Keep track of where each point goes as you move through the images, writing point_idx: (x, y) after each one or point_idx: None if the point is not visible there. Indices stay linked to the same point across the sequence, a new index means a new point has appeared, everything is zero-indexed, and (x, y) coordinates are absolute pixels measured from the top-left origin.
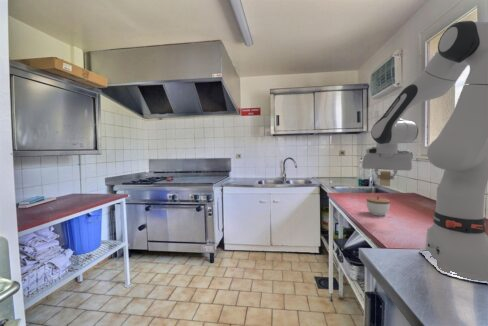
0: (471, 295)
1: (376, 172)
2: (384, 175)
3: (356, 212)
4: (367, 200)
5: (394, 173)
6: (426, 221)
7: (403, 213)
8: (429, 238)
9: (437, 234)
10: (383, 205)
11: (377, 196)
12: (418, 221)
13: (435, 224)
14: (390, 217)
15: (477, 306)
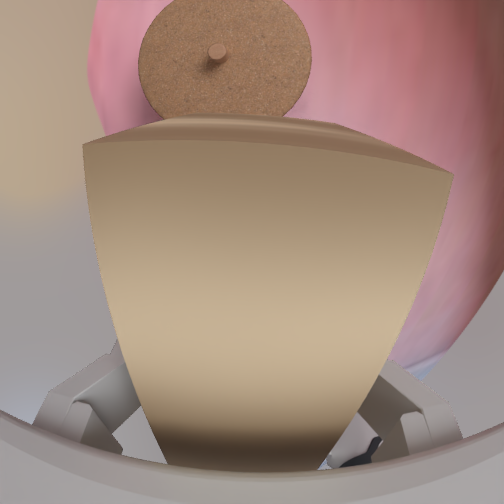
0: (325, 458)
1: (109, 426)
2: None
3: (125, 94)
4: (147, 96)
5: (378, 435)
6: (445, 130)
7: (374, 4)
8: None
9: (331, 464)
10: None
11: (210, 57)
12: (416, 141)
13: (338, 466)
14: (300, 111)
15: (320, 465)
